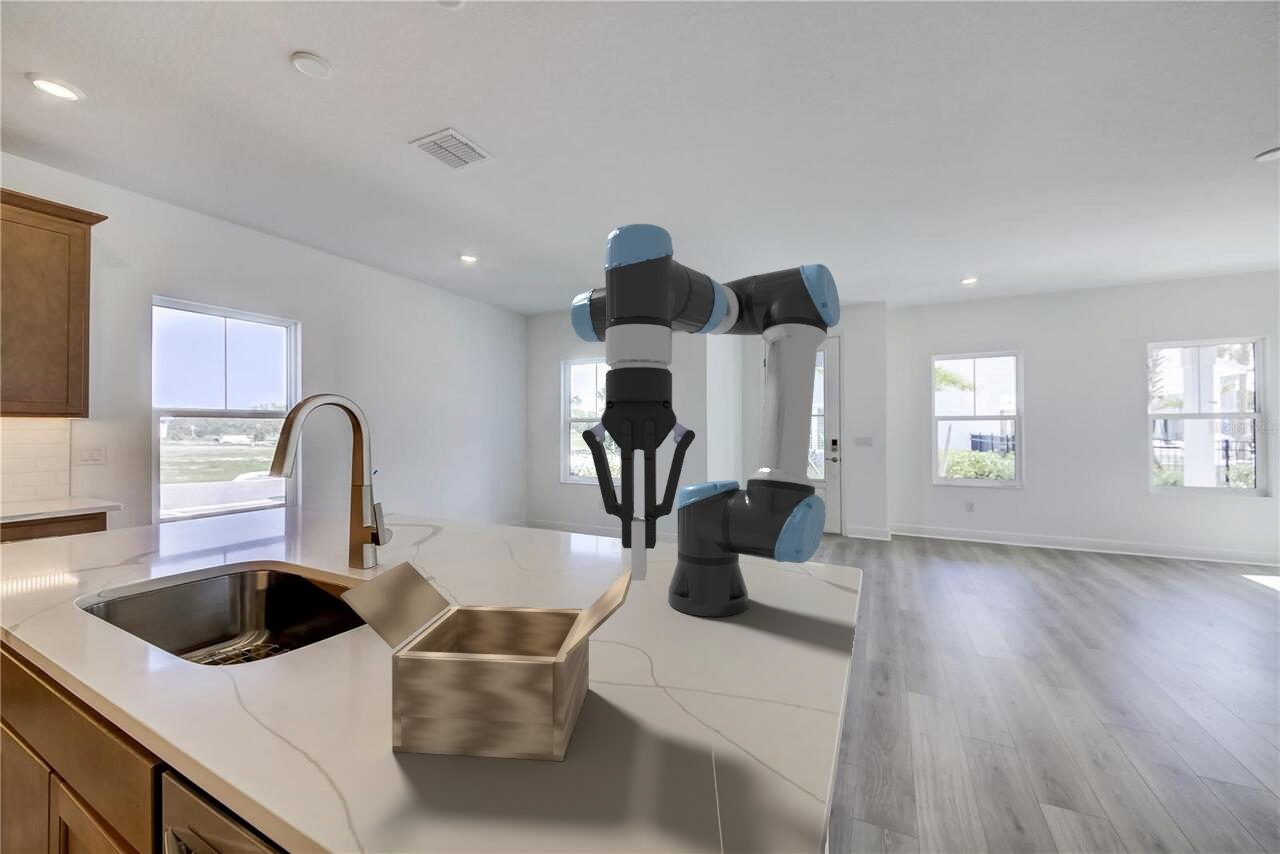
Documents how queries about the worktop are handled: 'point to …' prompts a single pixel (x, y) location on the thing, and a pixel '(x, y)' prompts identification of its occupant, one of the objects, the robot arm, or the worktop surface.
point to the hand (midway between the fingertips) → (639, 576)
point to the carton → (491, 683)
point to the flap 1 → (396, 603)
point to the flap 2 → (602, 610)
